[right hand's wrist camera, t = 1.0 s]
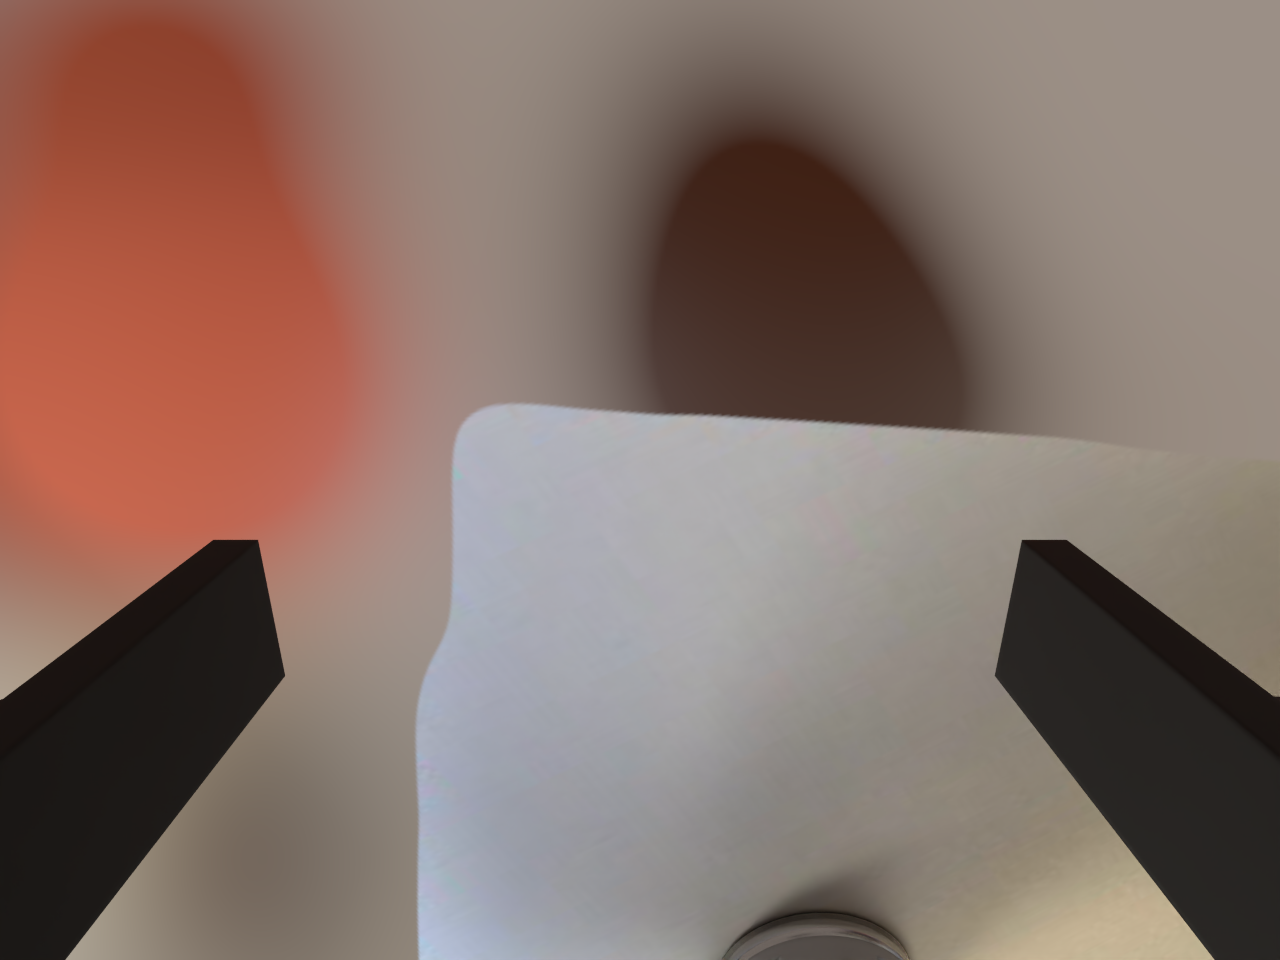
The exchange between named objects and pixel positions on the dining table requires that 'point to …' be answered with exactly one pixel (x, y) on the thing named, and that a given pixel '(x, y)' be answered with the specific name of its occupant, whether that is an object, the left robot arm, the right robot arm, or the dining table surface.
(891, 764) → the dining table surface
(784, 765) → the dining table surface
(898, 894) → the dining table surface
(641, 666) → the dining table surface
